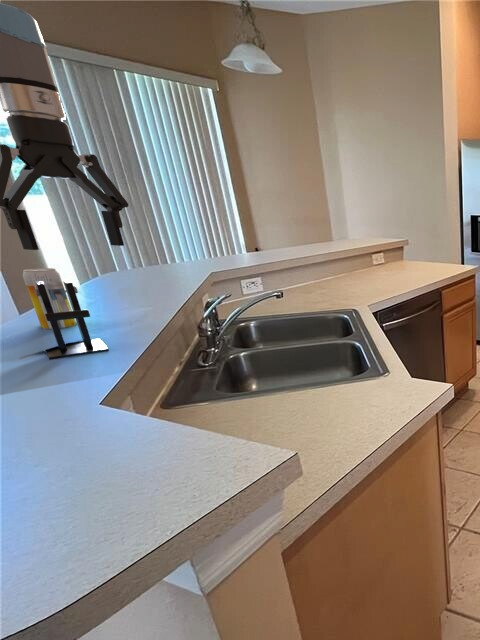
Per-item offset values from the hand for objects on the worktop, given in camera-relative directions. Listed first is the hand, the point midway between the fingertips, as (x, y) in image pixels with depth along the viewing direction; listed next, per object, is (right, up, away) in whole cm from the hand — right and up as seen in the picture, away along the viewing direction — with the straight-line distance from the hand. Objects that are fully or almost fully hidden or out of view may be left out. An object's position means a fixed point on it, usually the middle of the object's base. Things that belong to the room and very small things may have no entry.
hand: (77, 247), depth 83 cm
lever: (-7, -11, +4) cm, 13 cm away
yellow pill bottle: (-29, -13, +25) cm, 40 cm away
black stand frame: (-10, -19, +10) cm, 24 cm away
